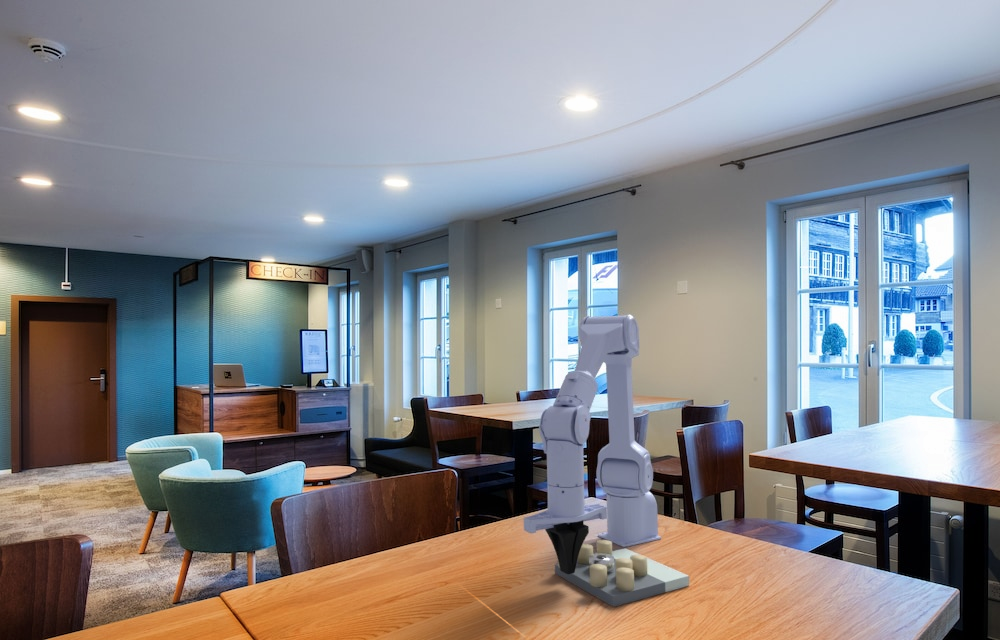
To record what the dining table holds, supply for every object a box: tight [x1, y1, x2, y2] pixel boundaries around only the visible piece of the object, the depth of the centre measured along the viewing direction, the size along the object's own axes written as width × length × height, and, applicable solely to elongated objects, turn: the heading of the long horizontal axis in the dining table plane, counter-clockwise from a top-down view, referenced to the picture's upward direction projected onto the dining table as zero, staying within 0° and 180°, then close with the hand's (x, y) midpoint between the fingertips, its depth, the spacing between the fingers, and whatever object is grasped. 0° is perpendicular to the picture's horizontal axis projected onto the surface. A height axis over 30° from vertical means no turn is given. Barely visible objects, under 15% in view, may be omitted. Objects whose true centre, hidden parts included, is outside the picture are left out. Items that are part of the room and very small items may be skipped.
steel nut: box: [589, 552, 614, 574], centre depth 98 cm, size 4×4×2 cm
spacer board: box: [554, 539, 690, 608], centre depth 98 cm, size 15×15×4 cm
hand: (567, 571), depth 95 cm, fingers closed
